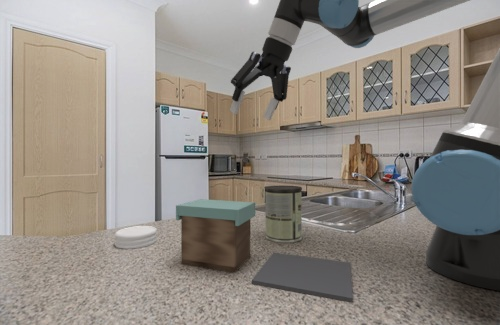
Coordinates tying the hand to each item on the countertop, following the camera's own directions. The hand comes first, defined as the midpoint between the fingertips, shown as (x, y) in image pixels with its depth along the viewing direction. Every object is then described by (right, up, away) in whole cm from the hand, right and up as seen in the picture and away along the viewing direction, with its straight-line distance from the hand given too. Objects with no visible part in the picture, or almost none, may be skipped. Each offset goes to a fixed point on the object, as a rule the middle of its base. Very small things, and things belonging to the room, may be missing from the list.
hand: (250, 115), depth 72 cm
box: (-7, -35, -20) cm, 41 cm away
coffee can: (+9, -35, -4) cm, 36 cm away
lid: (-7, -25, -20) cm, 33 cm away
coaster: (-30, -35, -8) cm, 47 cm away
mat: (+10, -35, -27) cm, 45 cm away
